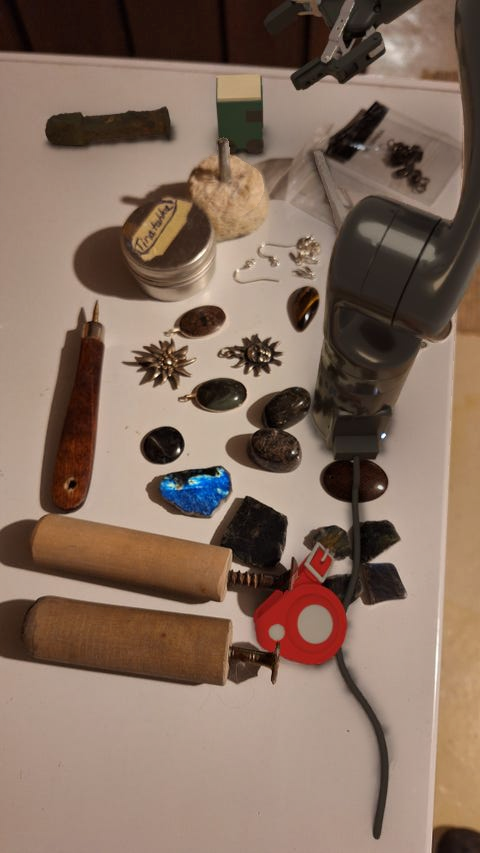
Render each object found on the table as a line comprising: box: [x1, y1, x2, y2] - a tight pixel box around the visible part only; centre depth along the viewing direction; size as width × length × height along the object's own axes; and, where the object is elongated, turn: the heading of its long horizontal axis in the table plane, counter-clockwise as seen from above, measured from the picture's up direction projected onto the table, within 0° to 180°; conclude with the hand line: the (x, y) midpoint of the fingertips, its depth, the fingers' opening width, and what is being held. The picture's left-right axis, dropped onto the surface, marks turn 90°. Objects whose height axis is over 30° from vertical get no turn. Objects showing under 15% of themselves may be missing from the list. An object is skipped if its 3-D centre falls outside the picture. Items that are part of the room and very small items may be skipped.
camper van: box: [215, 73, 265, 155], centre depth 92 cm, size 5×7×10 cm
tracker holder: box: [253, 541, 348, 666], centre depth 67 cm, size 12×4×10 cm
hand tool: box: [44, 105, 172, 146], centre depth 96 cm, size 19×4×5 cm, turn 93°
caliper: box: [313, 150, 348, 232], centre depth 88 cm, size 20×1×6 cm, turn 9°
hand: (279, 56), depth 74 cm, fingers open, 8 cm apart
